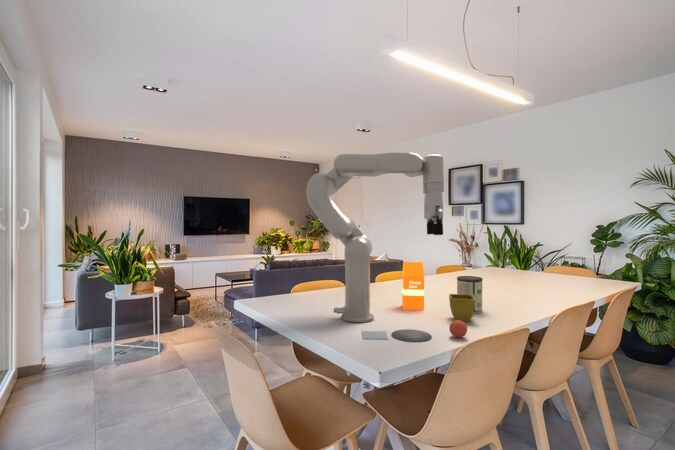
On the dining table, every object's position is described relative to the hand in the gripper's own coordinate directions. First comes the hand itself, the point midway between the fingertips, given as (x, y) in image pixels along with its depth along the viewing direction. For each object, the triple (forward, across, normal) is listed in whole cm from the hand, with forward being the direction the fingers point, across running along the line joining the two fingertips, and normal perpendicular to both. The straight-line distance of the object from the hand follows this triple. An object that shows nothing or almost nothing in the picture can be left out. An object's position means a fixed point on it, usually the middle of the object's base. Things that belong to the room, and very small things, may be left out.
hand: (434, 234), depth 137 cm
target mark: (+32, +16, -13) cm, 38 cm away
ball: (+30, +17, +2) cm, 35 cm away
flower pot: (+33, -5, +11) cm, 35 cm away
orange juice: (+33, -25, -4) cm, 41 cm away
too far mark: (+32, +16, -25) cm, 43 cm away
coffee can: (+34, -19, +19) cm, 43 cm away
